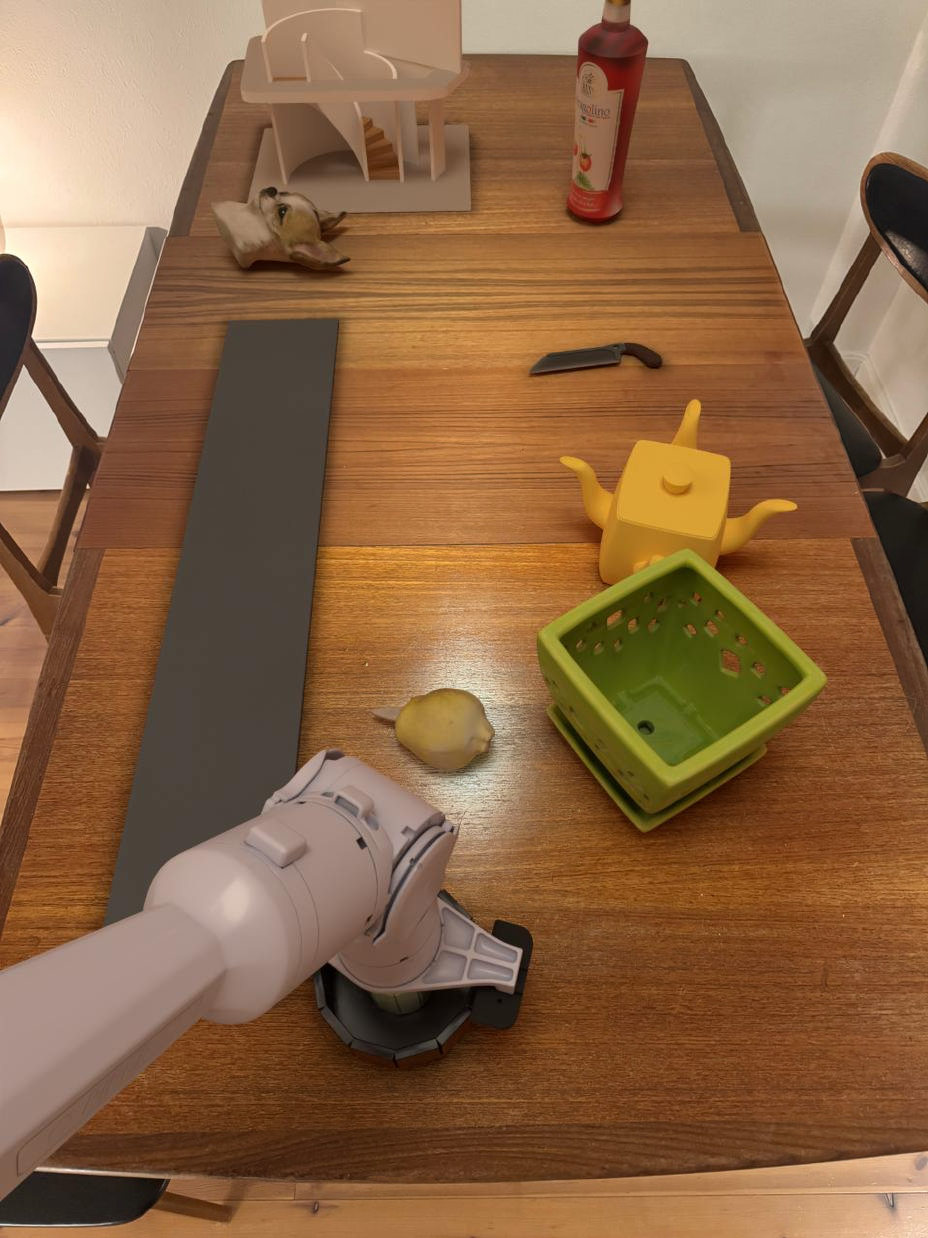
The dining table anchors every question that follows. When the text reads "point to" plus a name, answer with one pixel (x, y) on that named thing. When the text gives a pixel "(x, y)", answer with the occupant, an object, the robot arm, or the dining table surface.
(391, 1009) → the small pot
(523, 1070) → the dining table surface
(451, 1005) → the large pot
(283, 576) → the mat
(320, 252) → the ceramic sculpture
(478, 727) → the fruit
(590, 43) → the liquor
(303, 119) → the architectural model
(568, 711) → the flower pot
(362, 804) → the robot arm
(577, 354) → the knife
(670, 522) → the teapot
